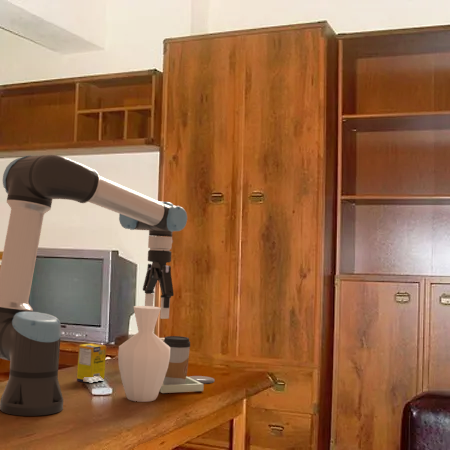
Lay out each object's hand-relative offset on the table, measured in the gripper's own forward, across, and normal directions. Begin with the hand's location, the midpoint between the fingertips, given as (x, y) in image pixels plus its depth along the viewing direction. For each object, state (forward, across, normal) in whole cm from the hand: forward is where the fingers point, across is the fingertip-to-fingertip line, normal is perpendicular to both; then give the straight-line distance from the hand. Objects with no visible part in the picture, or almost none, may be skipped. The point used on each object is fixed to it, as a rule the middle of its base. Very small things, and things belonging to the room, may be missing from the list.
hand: (156, 316), depth 223 cm
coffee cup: (+20, -18, 0) cm, 26 cm away
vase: (+20, -28, +14) cm, 37 cm away
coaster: (+20, -9, -13) cm, 25 cm away
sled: (+19, -12, 0) cm, 22 cm away
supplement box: (+20, -3, +21) cm, 29 cm away
